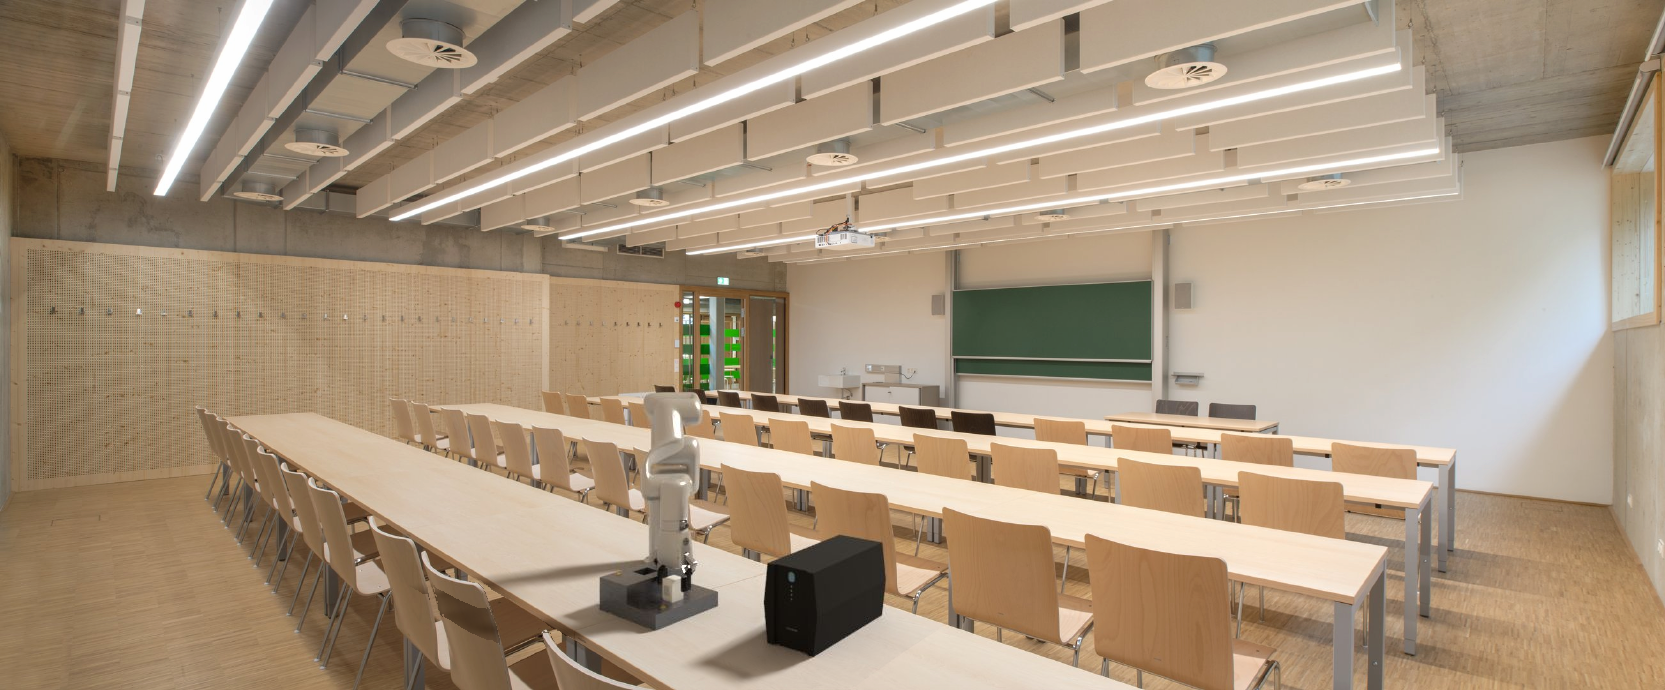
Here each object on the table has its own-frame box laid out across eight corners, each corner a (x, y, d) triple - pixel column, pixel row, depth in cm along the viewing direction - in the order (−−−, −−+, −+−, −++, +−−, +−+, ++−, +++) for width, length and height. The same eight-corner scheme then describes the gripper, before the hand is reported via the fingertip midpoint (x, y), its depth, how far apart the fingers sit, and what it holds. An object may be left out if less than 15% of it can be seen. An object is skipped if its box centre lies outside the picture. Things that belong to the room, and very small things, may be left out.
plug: (673, 603, 204) (673, 574, 203) (683, 606, 201) (683, 577, 201) (661, 607, 200) (661, 578, 200) (670, 611, 198) (670, 581, 197)
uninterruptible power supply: (763, 642, 182) (763, 561, 181) (839, 602, 209) (839, 532, 209) (817, 658, 172) (817, 574, 172) (888, 614, 200) (889, 541, 200)
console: (662, 587, 220) (662, 557, 220) (718, 605, 206) (718, 572, 206) (599, 609, 203) (599, 575, 203) (655, 630, 188) (655, 594, 188)
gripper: (706, 526, 198) (706, 589, 198) (664, 517, 209) (664, 577, 209) (685, 532, 192) (684, 597, 192) (642, 522, 203) (642, 584, 203)
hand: (674, 586), depth 201 cm, fingers open, 9 cm apart
